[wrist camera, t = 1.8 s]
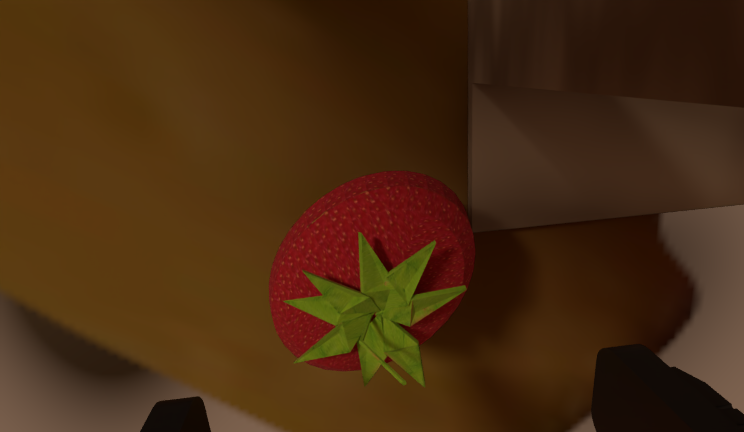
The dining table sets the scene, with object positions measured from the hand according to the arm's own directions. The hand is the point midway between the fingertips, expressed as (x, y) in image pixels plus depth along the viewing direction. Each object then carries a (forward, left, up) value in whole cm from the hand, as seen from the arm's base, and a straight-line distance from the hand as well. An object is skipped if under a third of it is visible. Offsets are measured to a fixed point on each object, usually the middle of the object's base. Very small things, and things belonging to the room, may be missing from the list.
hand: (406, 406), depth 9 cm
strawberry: (0, 0, -12) cm, 12 cm away
